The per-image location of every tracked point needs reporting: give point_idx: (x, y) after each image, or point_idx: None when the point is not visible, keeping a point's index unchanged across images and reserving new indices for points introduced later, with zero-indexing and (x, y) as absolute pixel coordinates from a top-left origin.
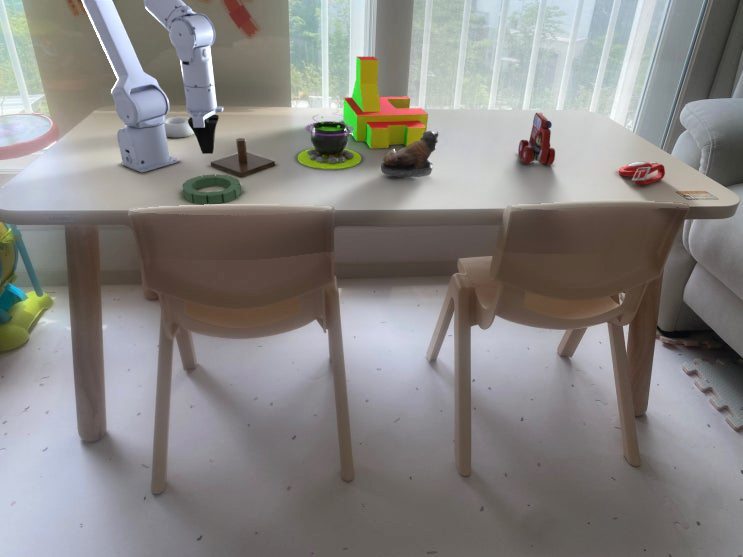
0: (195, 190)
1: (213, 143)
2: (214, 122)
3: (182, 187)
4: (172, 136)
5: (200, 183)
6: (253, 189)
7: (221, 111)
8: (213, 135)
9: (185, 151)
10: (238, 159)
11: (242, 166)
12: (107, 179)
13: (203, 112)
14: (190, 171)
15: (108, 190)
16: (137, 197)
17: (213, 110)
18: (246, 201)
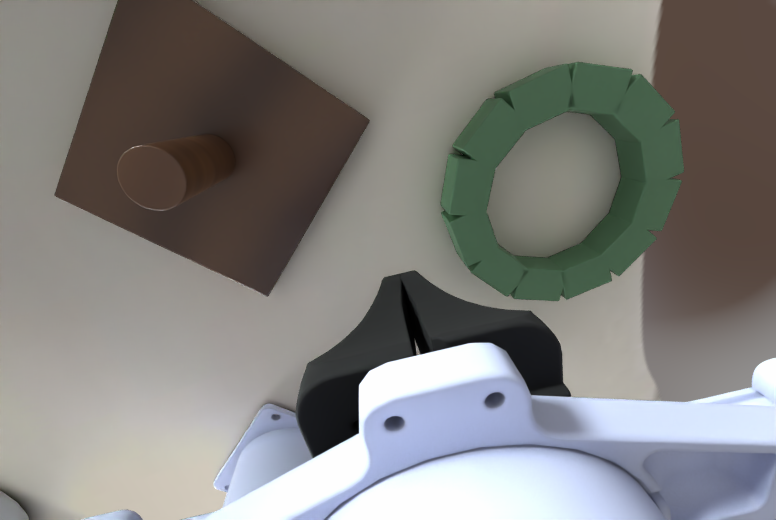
0: (625, 235)
1: (432, 284)
2: (545, 338)
3: (590, 289)
4: (25, 514)
5: (507, 252)
6: (507, 16)
7: (505, 355)
8: (464, 301)
9: (144, 424)
10: (225, 178)
11: (281, 139)
12: None
13: (663, 501)
14: (344, 336)
15: None
16: (574, 387)
17: (621, 441)
18: (642, 14)
